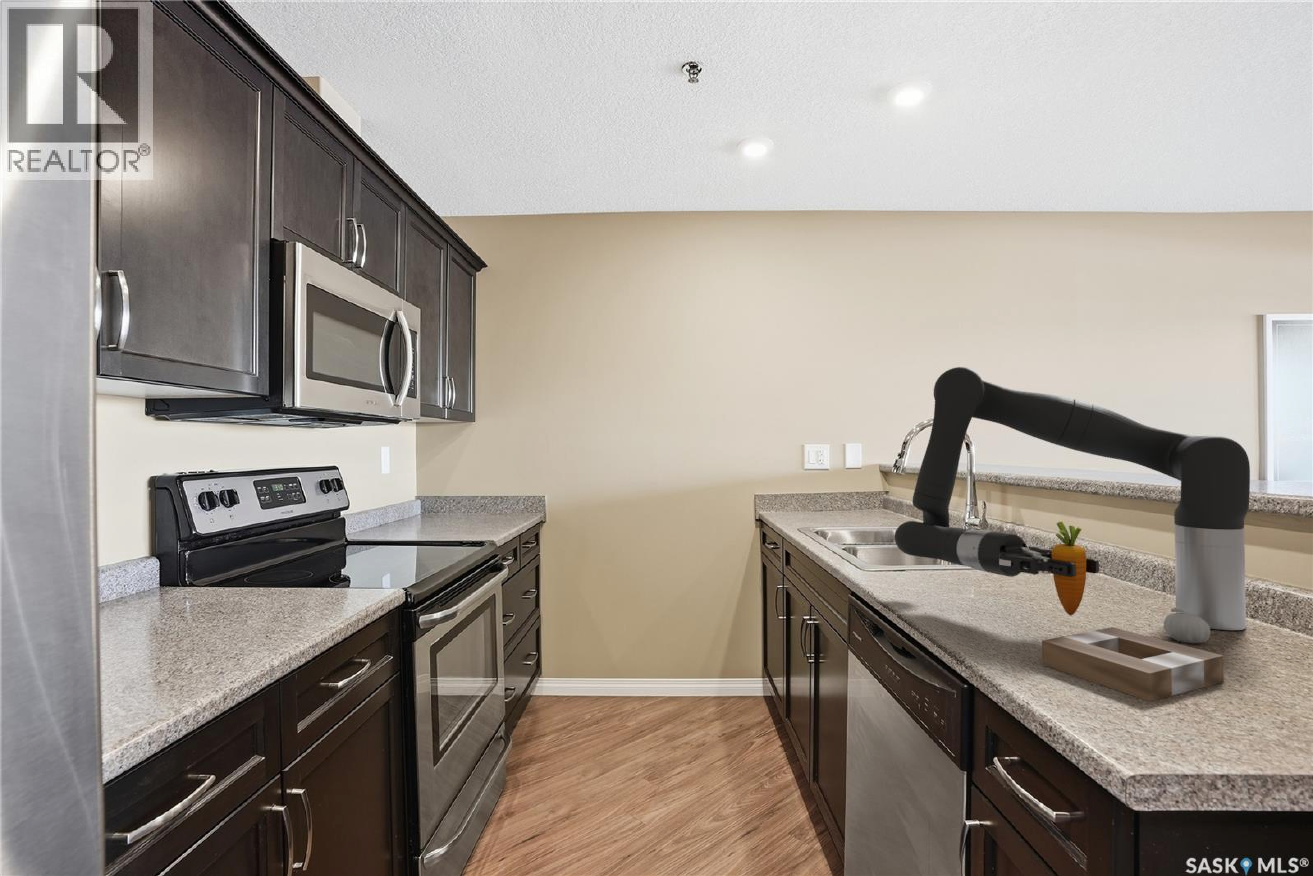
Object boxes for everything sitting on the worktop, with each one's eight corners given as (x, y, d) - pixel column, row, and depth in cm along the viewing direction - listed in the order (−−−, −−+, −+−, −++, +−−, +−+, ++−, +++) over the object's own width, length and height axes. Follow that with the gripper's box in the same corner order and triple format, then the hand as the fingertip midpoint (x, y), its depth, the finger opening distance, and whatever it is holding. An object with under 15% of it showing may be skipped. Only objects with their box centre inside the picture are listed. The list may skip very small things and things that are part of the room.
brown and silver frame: (1113, 649, 96) (1112, 627, 96) (1223, 681, 83) (1223, 655, 83) (1042, 664, 90) (1042, 640, 90) (1150, 701, 77) (1149, 673, 77)
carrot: (1095, 620, 96) (1092, 524, 96) (1060, 619, 97) (1057, 524, 97) (1080, 611, 101) (1077, 520, 101) (1047, 610, 102) (1044, 520, 102)
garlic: (1155, 639, 101) (1155, 607, 101) (1171, 634, 104) (1170, 603, 104) (1201, 649, 96) (1200, 616, 96) (1216, 644, 98) (1216, 611, 98)
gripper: (961, 534, 110) (1054, 548, 94) (1017, 528, 115) (1114, 541, 99) (962, 576, 110) (1056, 597, 94) (1019, 568, 115) (1116, 587, 99)
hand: (1085, 568), depth 97 cm, fingers closed on carrot, 5 cm apart
